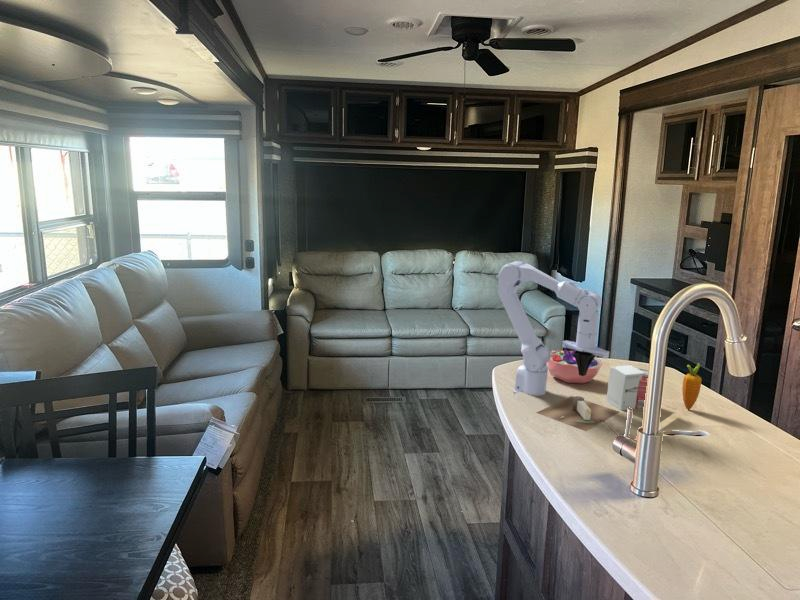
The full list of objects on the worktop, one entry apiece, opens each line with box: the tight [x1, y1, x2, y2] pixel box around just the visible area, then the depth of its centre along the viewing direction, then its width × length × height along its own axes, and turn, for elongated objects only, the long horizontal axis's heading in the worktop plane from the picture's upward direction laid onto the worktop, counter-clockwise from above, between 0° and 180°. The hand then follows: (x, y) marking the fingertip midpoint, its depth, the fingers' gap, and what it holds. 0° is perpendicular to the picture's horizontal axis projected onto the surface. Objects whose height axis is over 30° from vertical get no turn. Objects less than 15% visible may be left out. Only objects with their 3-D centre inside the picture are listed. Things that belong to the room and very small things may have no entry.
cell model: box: [547, 348, 603, 384], centre depth 197 cm, size 17×20×11 cm
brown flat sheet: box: [536, 395, 620, 432], centre depth 169 cm, size 16×20×1 cm
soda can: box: [634, 368, 648, 411], centre depth 174 cm, size 7×7×12 cm
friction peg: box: [573, 395, 591, 420], centre depth 167 cm, size 3×11×4 cm, turn 2°
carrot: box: [682, 363, 702, 411], centre depth 175 cm, size 5×5×15 cm
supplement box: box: [605, 364, 645, 411], centre depth 174 cm, size 7×7×13 cm
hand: (582, 374), depth 176 cm, fingers closed
